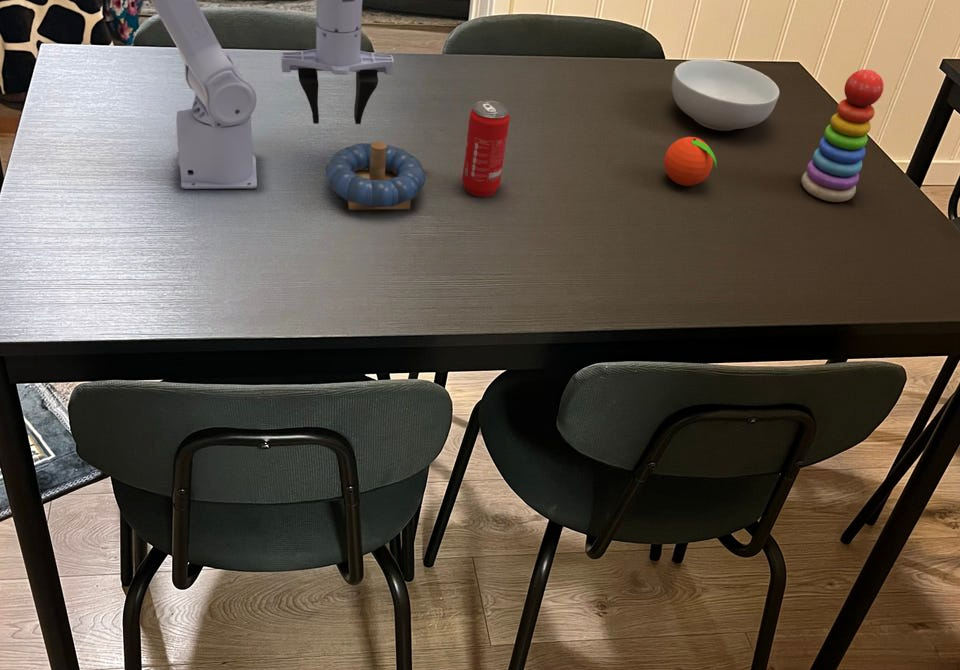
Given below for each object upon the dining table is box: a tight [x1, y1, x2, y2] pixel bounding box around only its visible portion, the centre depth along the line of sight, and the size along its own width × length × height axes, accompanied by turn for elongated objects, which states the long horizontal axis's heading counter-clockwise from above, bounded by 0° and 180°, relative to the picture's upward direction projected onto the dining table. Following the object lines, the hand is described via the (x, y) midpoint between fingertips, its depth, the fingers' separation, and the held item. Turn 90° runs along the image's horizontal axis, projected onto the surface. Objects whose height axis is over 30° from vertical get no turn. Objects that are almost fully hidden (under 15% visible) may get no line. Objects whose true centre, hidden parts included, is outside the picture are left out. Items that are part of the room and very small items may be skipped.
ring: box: [325, 142, 426, 207], centre depth 126 cm, size 13×13×3 cm
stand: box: [347, 141, 412, 211], centre depth 126 cm, size 8×8×7 cm
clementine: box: [663, 136, 717, 187], centre depth 138 cm, size 8×7×7 cm
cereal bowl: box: [671, 58, 780, 132], centre depth 155 cm, size 17×17×7 cm
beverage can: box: [461, 100, 511, 198], centre depth 128 cm, size 5×5×12 cm
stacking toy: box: [801, 69, 884, 203], centre depth 137 cm, size 8×8×19 cm
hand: (336, 120), depth 131 cm, fingers open, 5 cm apart
